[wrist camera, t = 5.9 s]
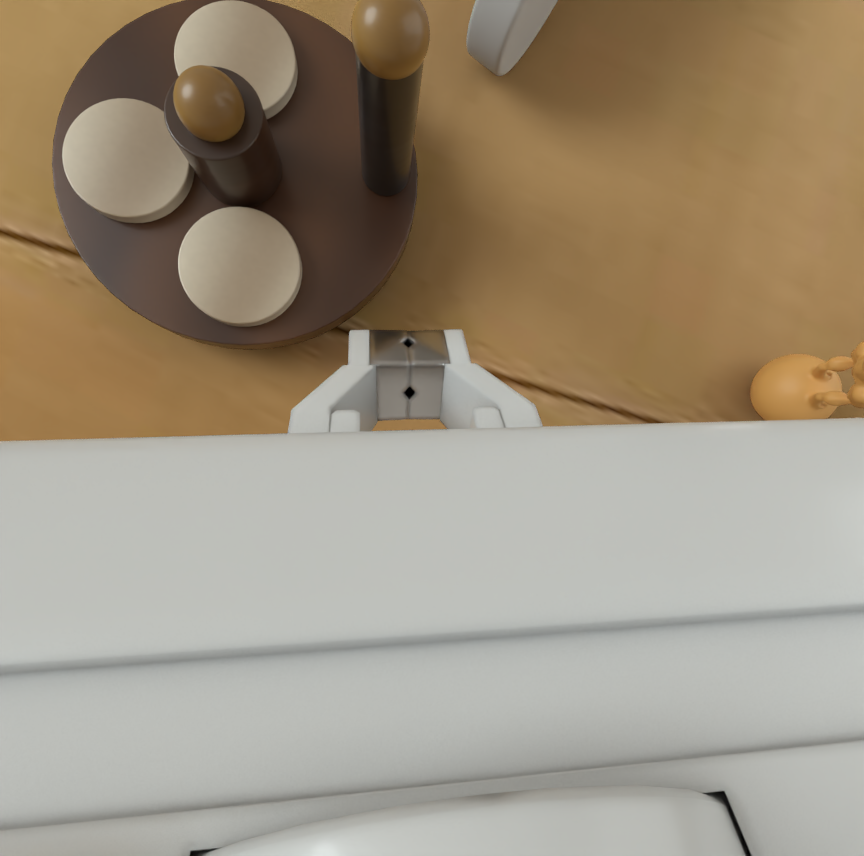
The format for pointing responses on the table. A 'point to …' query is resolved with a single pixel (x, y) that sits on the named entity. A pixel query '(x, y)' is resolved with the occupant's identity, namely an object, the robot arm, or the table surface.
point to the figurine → (806, 386)
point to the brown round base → (244, 165)
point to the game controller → (504, 30)
